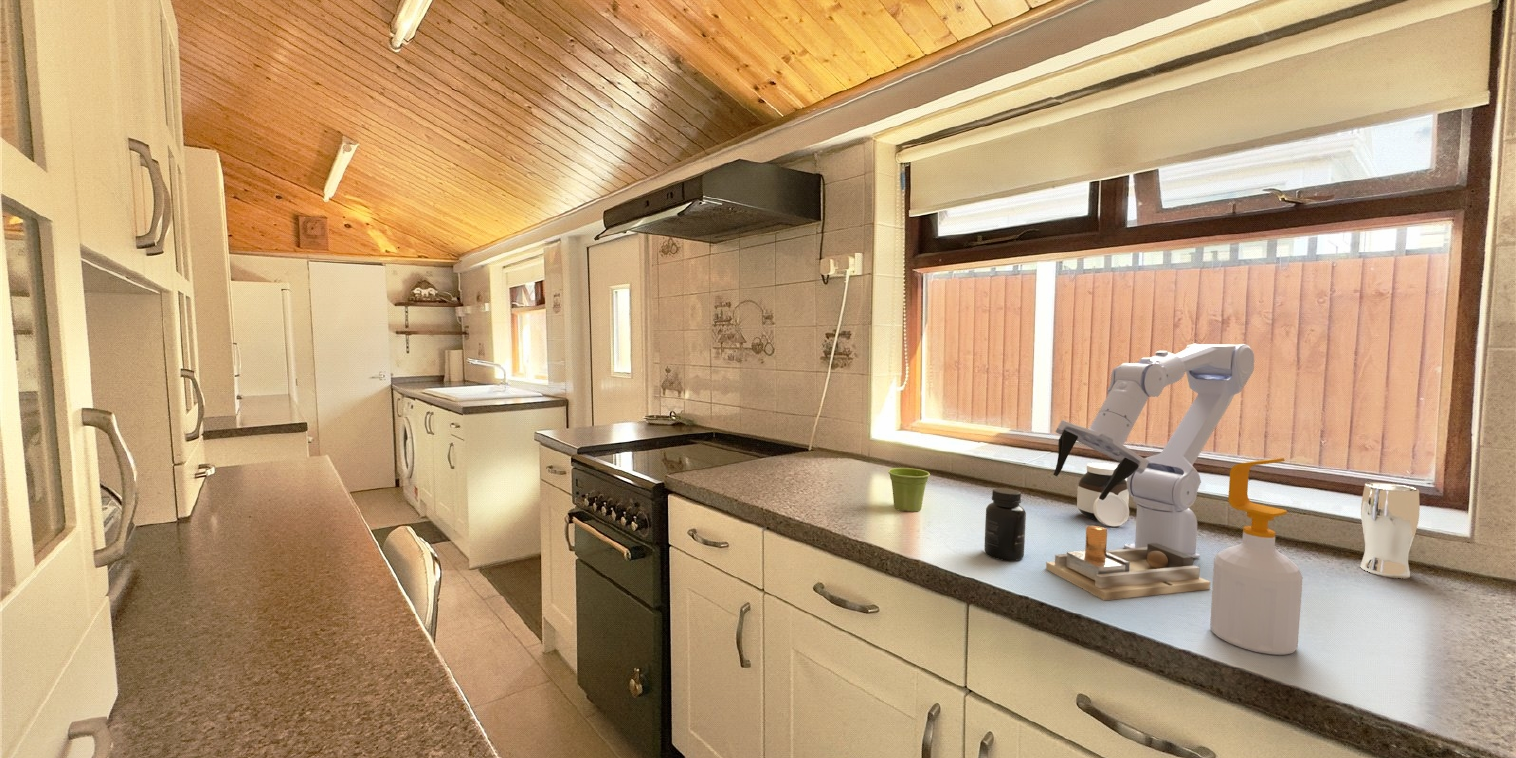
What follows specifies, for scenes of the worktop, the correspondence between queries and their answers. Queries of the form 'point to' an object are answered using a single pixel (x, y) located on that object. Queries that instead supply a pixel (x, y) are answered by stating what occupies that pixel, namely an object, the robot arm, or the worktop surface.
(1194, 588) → the base
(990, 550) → the supplement bottle
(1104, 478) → the spread jar
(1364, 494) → the beer glass
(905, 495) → the plant pot
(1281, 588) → the soap bottle
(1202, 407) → the robot arm
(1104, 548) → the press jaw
